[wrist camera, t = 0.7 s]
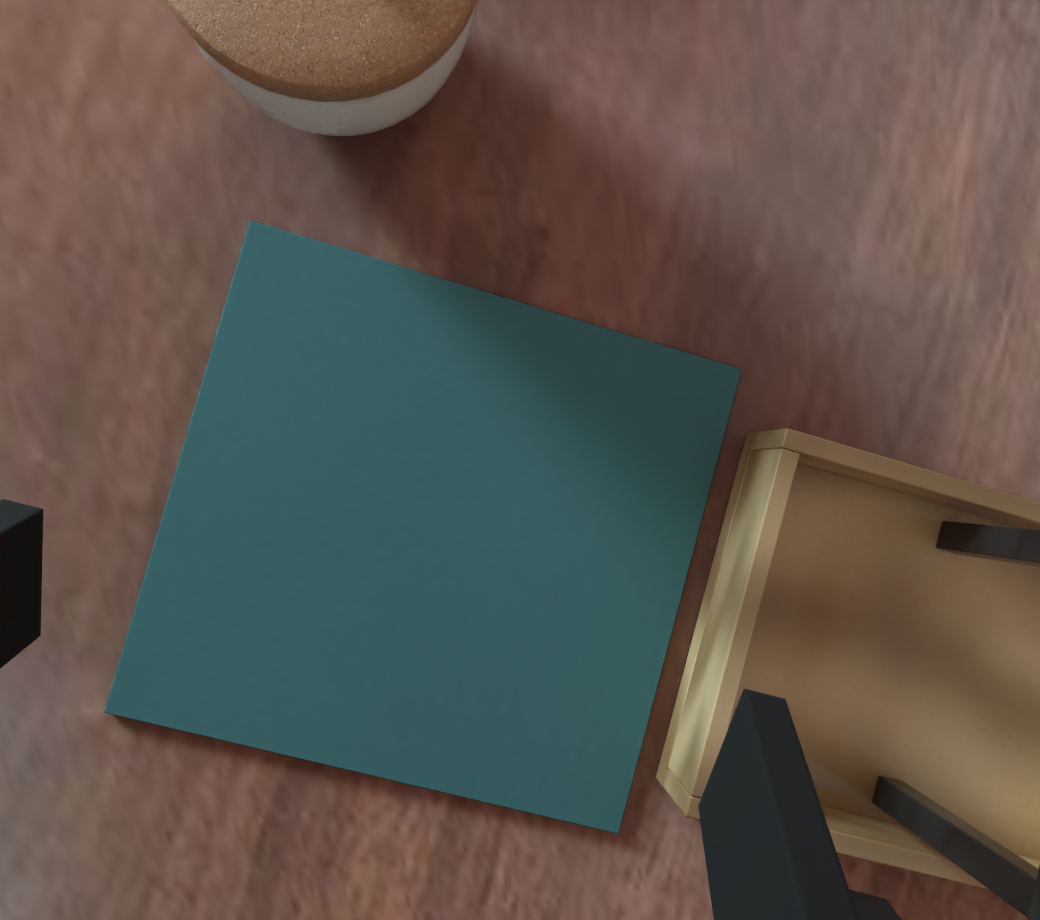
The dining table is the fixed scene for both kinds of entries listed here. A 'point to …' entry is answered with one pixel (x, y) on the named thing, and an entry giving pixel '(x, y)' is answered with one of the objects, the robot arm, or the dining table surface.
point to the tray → (879, 656)
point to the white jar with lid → (332, 56)
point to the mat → (425, 534)
